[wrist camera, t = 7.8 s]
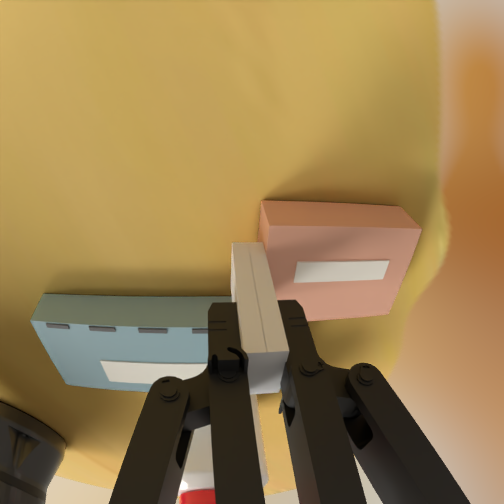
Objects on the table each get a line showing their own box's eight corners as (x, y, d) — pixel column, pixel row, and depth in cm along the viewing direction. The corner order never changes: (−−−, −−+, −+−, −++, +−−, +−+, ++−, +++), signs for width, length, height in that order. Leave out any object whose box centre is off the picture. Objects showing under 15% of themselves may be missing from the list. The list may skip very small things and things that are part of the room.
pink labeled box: (252, 293, 19) (258, 324, 17) (261, 200, 16) (269, 226, 14) (373, 288, 20) (388, 315, 18) (400, 206, 17) (423, 230, 15)
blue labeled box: (73, 359, 21) (66, 385, 19) (43, 293, 18) (29, 321, 15) (275, 362, 24) (281, 390, 21) (288, 294, 20) (297, 325, 17)
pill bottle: (150, 396, 25) (144, 513, 16) (199, 357, 22) (204, 503, 13) (219, 420, 29) (228, 522, 20) (274, 387, 26) (296, 506, 17)
